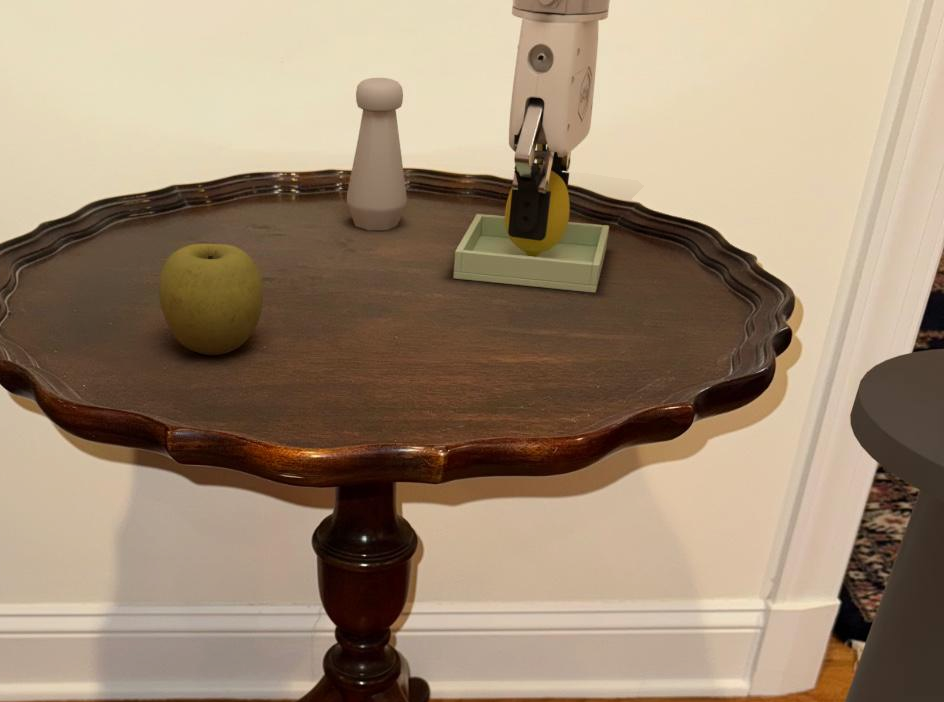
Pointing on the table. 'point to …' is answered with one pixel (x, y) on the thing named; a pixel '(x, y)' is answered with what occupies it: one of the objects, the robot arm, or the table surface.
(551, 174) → the lemon
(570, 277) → the dish
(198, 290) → the apple
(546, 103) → the robot arm
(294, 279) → the table surface
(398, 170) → the salt shaker
